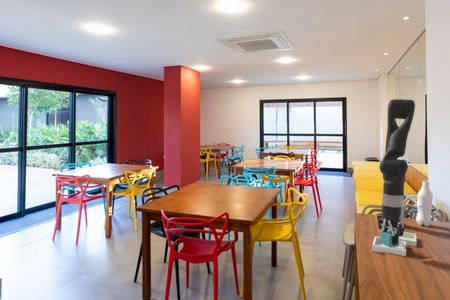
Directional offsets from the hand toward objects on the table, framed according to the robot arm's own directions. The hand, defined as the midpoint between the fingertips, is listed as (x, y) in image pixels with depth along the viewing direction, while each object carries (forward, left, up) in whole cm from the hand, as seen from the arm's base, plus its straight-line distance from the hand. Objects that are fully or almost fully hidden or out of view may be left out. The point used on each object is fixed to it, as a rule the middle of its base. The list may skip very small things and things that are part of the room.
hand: (389, 241), depth 134 cm
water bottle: (-52, -13, -4) cm, 54 cm away
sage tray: (-15, -4, -4) cm, 16 cm away
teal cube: (0, 0, -1) cm, 1 cm away
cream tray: (0, 0, -4) cm, 4 cm away
